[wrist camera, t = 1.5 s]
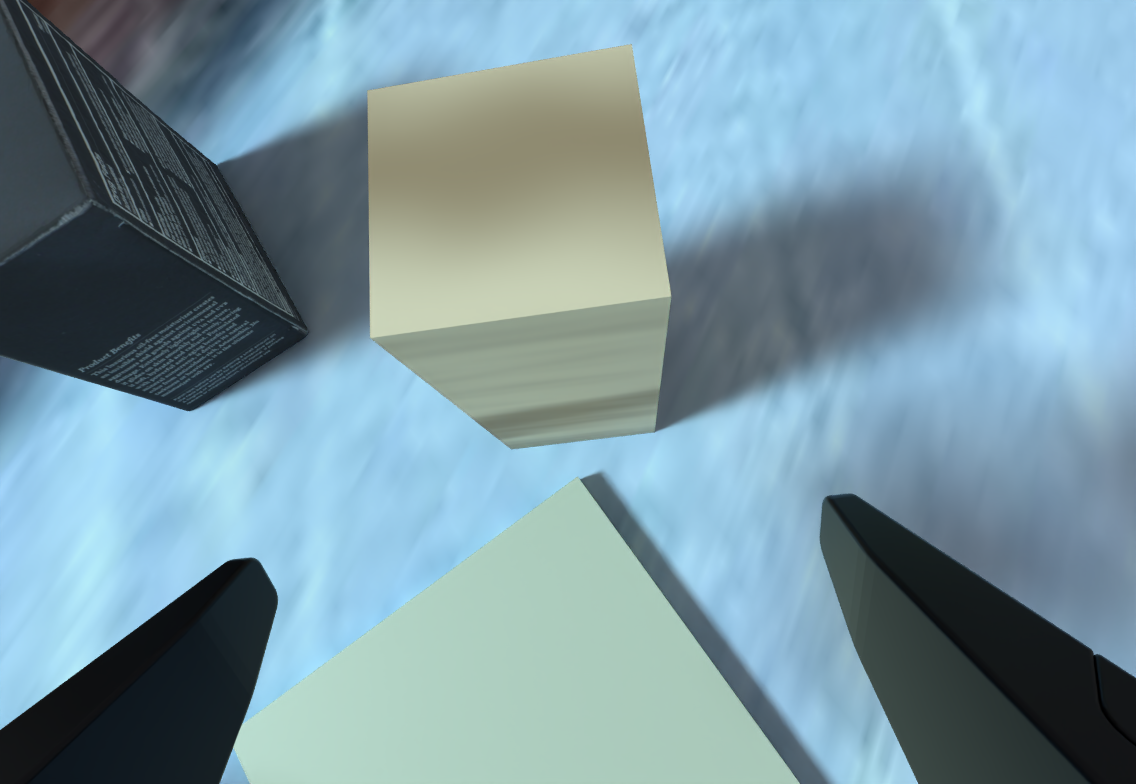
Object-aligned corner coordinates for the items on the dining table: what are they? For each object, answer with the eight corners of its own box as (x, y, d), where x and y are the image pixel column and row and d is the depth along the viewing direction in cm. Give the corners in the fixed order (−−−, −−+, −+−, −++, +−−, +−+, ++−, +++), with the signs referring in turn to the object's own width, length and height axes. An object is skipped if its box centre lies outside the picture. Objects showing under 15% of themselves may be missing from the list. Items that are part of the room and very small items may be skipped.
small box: (98, 238, 28) (-209, 61, 18) (218, 162, 28) (-17, -54, 18) (182, 421, 25) (-128, 333, 15) (315, 334, 25) (100, 191, 15)
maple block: (654, 432, 22) (671, 296, 10) (511, 449, 23) (369, 337, 11) (635, 298, 24) (632, 44, 12) (501, 316, 24) (367, 90, 12)
